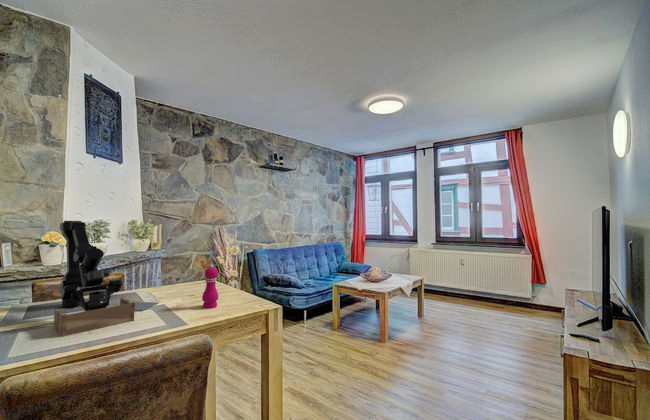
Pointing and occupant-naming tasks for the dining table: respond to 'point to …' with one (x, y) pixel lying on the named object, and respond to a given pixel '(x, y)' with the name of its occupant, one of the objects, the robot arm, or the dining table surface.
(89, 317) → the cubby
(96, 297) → the supplement bottle
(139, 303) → the felt mat
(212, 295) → the pepper mill
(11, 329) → the dining table surface
